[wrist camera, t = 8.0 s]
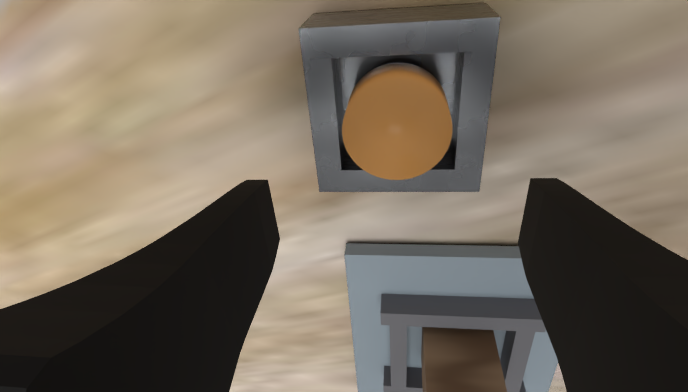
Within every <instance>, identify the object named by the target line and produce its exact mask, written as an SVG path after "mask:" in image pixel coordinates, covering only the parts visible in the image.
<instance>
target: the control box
mask: <svg viewBox="0 0 688 392" xmlns="http://www.w3.org/2000/svg"><path fill="white" fill-rule="evenodd" d="M499 25H500V16H499V15H498V14H497V13H496V12H495V11H494V10H493V9H491V8H490V7H489V6H488V5H487V4H486V3H477V4H461V5H444V6H428V7H412V8H396V9H380V10H364V11H348V12H332V13H316V14H313V15H312V16H311V17H310V18H309V19H308V20H307V21H306V22H305V23H304V24H303V25H302V26H301V27H300V28H299V36H300V44H301V52H302V59H303V67H304V75H305V83H306V91H307V98H308V106H309V114H310V122H311V130H312V137H313V145H314V153H315V161H316V169H317V177H318V184H319V192H479V190H480V182H481V174H482V165H483V157H484V149H485V141H486V132H487V124H488V116H489V108H490V99H491V91H492V83H493V75H494V66H495V58H496V50H497V42H498V33H499ZM396 62H398V63H409V64H413V65H416V66H419V67H421V68H423V69H425V70H426V71H428V72H429V73H431V74H432V75H433V76H434V77H435V78H436V79H437V80H438V82H439V83H440V85H441V86H442V88H443V90H444V92H445V96H446V99H447V103H448V107H449V111H450V115H451V119H452V138H451V142H450V145H449V147H448V150H447V152H446V153H445V155H444V156H443V158H442V159H441V160H440V161H439V162H438V163H437V164H436V165H435V166H434V167H433V168H432V169H430V170H429V171H427V172H425V173H424V174H421V175H419V176H417V177H413V178H410V179H404V180H389V179H383V178H379V177H376V176H374V175H371V174H369V173H368V172H366V171H364V170H363V169H362V168H360V167H359V166H358V165H357V164H356V163H355V162H354V161H353V160H352V158H351V157H350V155H349V154H348V152H347V150H346V148H345V145H344V142H343V136H342V124H343V119H344V115H345V112H346V109H347V105H348V102H349V99H350V95H351V93H352V91H353V89H354V87H355V85H356V84H357V83H358V81H359V80H360V79H361V78H362V77H363V76H364V75H365V74H367V73H368V72H369V71H371V70H373V69H374V68H376V67H379V66H381V65H384V64H389V63H396Z"/></svg>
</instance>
